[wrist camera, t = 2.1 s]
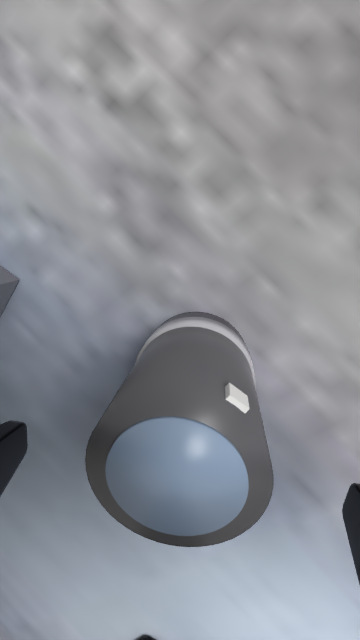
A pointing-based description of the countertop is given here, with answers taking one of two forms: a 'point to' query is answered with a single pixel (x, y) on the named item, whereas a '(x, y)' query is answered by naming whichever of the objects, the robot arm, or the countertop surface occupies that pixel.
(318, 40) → the countertop surface
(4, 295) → the camera body
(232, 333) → the lens
